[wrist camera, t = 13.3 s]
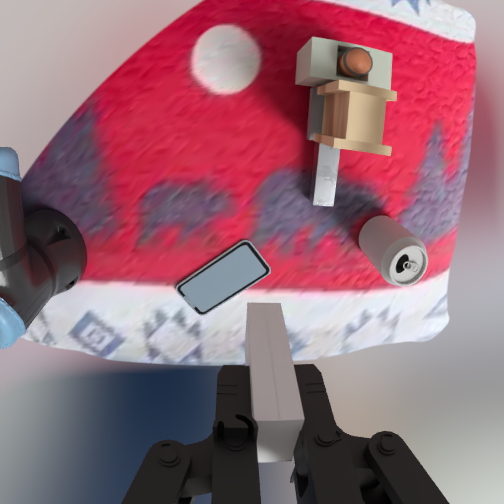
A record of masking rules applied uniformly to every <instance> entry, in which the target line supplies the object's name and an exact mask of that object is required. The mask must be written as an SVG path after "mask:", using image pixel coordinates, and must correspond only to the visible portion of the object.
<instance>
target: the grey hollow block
mask: <svg viewBox="0 0 504 504" xmlns="http://www.w3.org/2000/svg"><path fill="white" fill-rule="evenodd" d="M353 47H360V48H363V49H365V50H366V51H367V52H368V53H369V54H370V55H371V57H372V60H373V67H372V69H371V71H370V72H369V73H367V74H365V75H361V76H357V75H356V76H352V77H346V76H343V75H342V74H340V73H339V71H338V70H337V68H336V67H337V59H338V57H339V56H341V55H343V54H344V53H345V52H346V51H347V50H349V49H350V48H353ZM391 70H392V53H388V52H385V51H381V50H377V49H373V48H369V47H364V46H360V45H355V44H351V43H346V42H341V41H335V40H330V39H324V38H318V37H312V38H311V39H310V40H309V41H308V42H307V43H306V44H305V45H304V46H303V47H302V48H301V49H300V50H299V51H298V52H297V65H296V80H295V85H303V86H311V87H319V86H322V85H325V84H328V83H331V82H334V81H337V80H344V81H350V82H355V83H360V84H365V85H370V86H375V87H379V88H384V89H388V90H390V88H391Z"/></svg>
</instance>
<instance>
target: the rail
mask: <svg viewBox="0 0 504 504" xmlns="http://www.w3.org/2000/svg"><path fill="white" fill-rule="evenodd" d="M339 155H340V148H333V147H330V146H327V145H324V144H322V143H319V142H316V141H315V145H314V156H313V166H312V175H311V185H310V194H309V200H310V202H311V203H312V204H313V205H320V206H333V204H334V197H335V189H336V181H337V173H338V164H339Z"/></svg>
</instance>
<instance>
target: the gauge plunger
mask: <svg viewBox="0 0 504 504" xmlns="http://www.w3.org/2000/svg"><path fill="white" fill-rule="evenodd" d="M372 67H373V60H372V57H371V55H370V54H369V53H368V52H367V51H366V50H365V49H363V48H360V47H353V48H350V49H349V50H347V51H346V52H345V53H344V54H343V55H341V56H339V57H338V59H337V67H336V68H337V70H338V71H339V73H340V74H342V75H343V76H346V77H352V76H356V75H357V76H361V75H365V74H367V73H369V72H370V71H371V69H372Z"/></svg>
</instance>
